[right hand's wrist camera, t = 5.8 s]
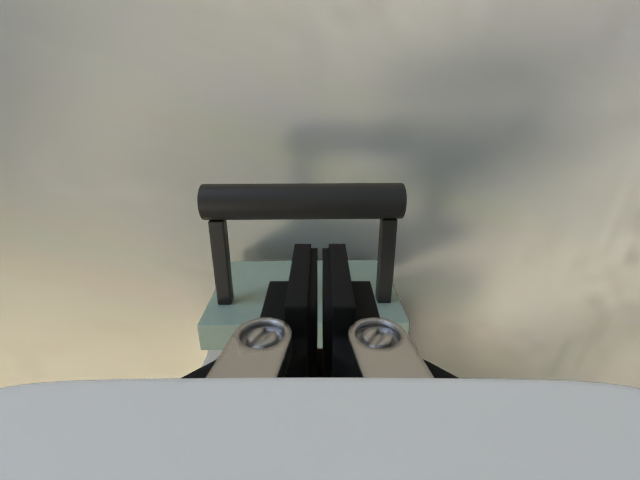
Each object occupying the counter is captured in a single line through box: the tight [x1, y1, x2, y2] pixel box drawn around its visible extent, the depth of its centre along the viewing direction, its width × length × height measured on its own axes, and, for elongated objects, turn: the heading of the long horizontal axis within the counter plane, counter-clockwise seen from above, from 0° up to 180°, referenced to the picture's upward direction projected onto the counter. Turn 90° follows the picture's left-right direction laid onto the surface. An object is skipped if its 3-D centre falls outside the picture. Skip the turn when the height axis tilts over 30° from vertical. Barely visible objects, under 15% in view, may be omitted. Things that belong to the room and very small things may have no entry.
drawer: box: [197, 183, 410, 378], centre depth 19 cm, size 18×8×6 cm, turn 0°
